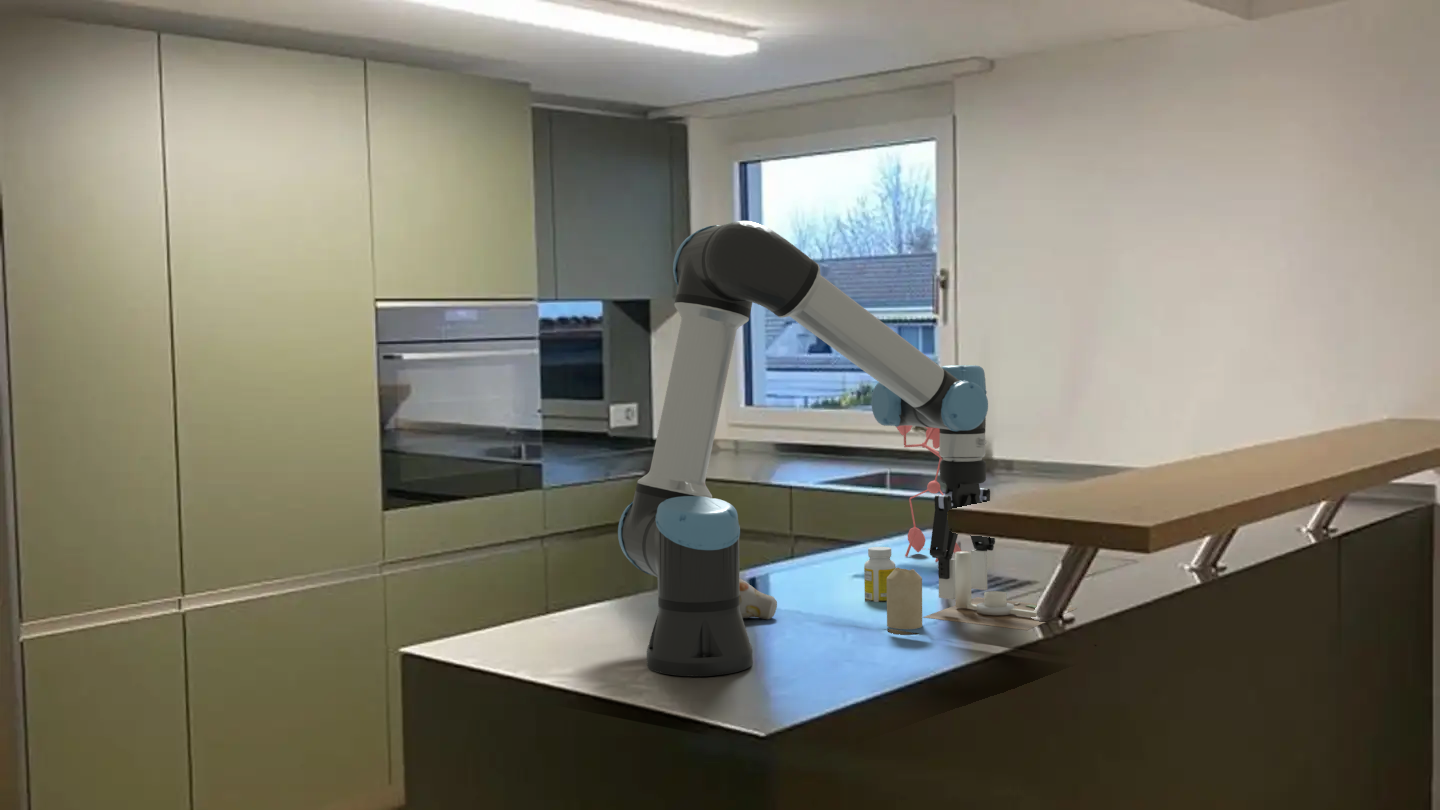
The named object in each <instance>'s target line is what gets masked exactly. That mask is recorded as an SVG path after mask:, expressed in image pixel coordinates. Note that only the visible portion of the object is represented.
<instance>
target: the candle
mask: <svg viewBox="0 0 1440 810" xmlns="http://www.w3.org/2000/svg"><path fill="white" fill-rule="evenodd" d="M886 626H887V627H888V628H886V629H887V630H886V631H887V632H888V633H889V634H892V633H893V634H892V635H899V634H900V635H899V636H911V635H912V636H913V635H918V634H920V632H914V631H913V632H912V631H906V630H916V629H919V628H922V627H923V577H922V576H921V575H920V574H919V573H918V572H917V571H916V570H915V569H913V568H912V569H908V568H907V569H906V568H900V567H896V569H894V570H893V571H892V572H891V574H890V575H889V576H888V577H887V602H886Z"/></svg>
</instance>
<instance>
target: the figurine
mask: <svg viewBox="0 0 1440 810" xmlns="http://www.w3.org/2000/svg"><path fill="white" fill-rule="evenodd" d="M912 427H913V426H911V425H903V426H898V427H896V426H895V428H896V429H897V431H898V432H899V434H900V435H901V436H903V448H917V447H918V448H919V447H922V448H924V449H927V450H928V451H930V452H931V453H933V455H935V456H937V457H938V458H939V461H938V464H937V465H938V466H937V469H936V474H935V478H934V479H933V480H931V481H929V482H928V483H927V488H926V489H925V490H923V491H920V493H917V494H914V495H912V496H911V497H909V499H908V500H909V507H910V513H911V519H912V523H913V527H912V528H909V531H908V533H907V541H908V543H909V544H908V547H907V549H906V552H905V554H904V557H906V558H907V557H908V556H909V554H910V550H911V548H913V549H914V550H915V552H916V553H919V552H921V551H922V550H923V549H924V547H925V546H926V537H925V535H924V532H923V531H922V529H920V528H918V527H916V526H917V525H916V520H915V515H914V509H913V504H912V500H913V499H914V498H917V497H918V496H920V495H922V494H924V493H927V492H929V493H931V494H934V495H935V494H937V493H940V494H941V495H945V493H943V490H942V489H941V483H939V482H938V476H939V474H940V462H941V460H943V457H941V456H940V455H939V451H938V450H936V449H939V446H940V428H929V427H924V428H926V431H925V440H924V442H922V443H915V444H907V434H908V433H909V432H911V430H912ZM929 440H931V441H932V447H931V446H929V445H927V444H928V442H929ZM960 551H962V549H961V548H960V545H959V544H958V543H957V542H956V544H955V548H954V551H953V554H955V552H960ZM965 552H969V551H966V550H965ZM934 562H935V563H938V558H935V560H934Z"/></svg>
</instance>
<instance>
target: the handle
mask: <svg viewBox="0 0 1440 810" xmlns="http://www.w3.org/2000/svg"><path fill="white" fill-rule="evenodd" d="M954 559H955V593H956V599H954V601H955V602H954V603H955V605H954V606H956V607H958V608H968V609H976V610H977V612H978V613H981V614H986V615H1009V614H1016V615H1024V616H1031V617H1036V616H1037V611H1029V610H1022V609H1014V605H1013V604H1010V603H1007V601H1008V600H1007V592H1004V591H999V590H998V591H997V590H996V591H994V590H993V591H992V590H991V591H985V592H983V598H984V602H983V603H979V604H977V605H975V604H971V599H972V589H971V551H968V552H966V550H961V551H960V552H955V553H954Z"/></svg>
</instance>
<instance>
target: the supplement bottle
mask: <svg viewBox="0 0 1440 810" xmlns="http://www.w3.org/2000/svg"><path fill="white" fill-rule="evenodd" d="M867 554H868V555H867V556H868V558H869V559H868V560H867V561H865V562H864V567H863V568H864V569H863V571H864V572H863V573H864V574H863V575H864V578H863V579H864V583H863V585H864V603H866V602H874V603H887V577H888V576H889V575H890V574H891V572H892V571H893V570H894V569H896V568H897V566H896V562H895V561H894V560H892V559H891V557H892V554H893V553H892V548H891V547H888V546H872V547H868V548H867Z"/></svg>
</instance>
